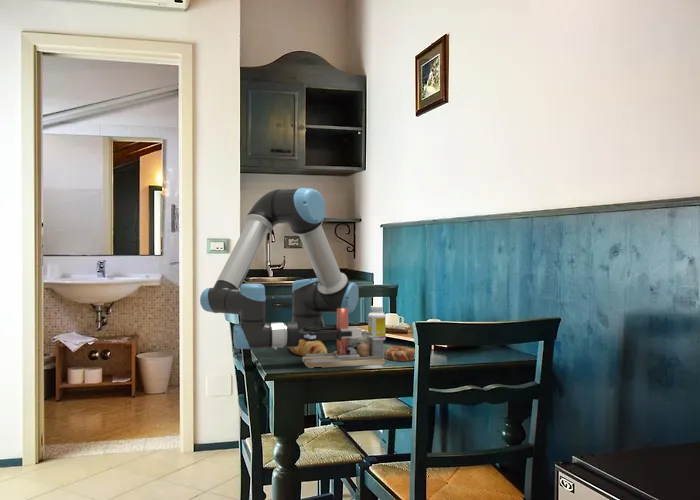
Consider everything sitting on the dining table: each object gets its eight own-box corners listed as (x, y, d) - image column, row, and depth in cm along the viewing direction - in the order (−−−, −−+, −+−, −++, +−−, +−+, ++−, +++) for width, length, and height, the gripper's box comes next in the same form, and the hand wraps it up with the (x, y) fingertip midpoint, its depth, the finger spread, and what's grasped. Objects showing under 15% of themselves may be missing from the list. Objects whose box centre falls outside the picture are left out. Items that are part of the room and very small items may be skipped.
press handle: (333, 355, 190) (333, 307, 189) (352, 354, 191) (352, 306, 191) (338, 359, 183) (338, 310, 182) (357, 358, 184) (357, 309, 184)
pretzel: (375, 357, 196) (375, 346, 196) (401, 354, 202) (401, 343, 202) (399, 364, 186) (399, 352, 186) (425, 360, 193) (425, 348, 192)
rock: (359, 354, 200) (358, 334, 200) (339, 351, 205) (339, 332, 205) (382, 348, 210) (382, 330, 210) (363, 346, 216) (363, 328, 216)
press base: (302, 361, 189) (302, 337, 189) (375, 357, 195) (375, 334, 194) (308, 368, 179) (308, 343, 179) (384, 364, 185) (384, 339, 185)
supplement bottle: (388, 339, 229) (388, 305, 229) (381, 342, 224) (381, 307, 223) (372, 337, 232) (372, 305, 232) (365, 340, 227) (365, 306, 226)
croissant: (333, 368, 195) (342, 345, 197) (311, 357, 189) (321, 334, 191) (295, 357, 211) (304, 336, 213) (274, 346, 205) (283, 325, 207)
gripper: (281, 342, 190) (352, 339, 196) (289, 352, 174) (366, 348, 180) (281, 318, 190) (352, 316, 196) (289, 326, 174) (366, 323, 180)
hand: (359, 331), depth 188 cm, fingers open, 4 cm apart
